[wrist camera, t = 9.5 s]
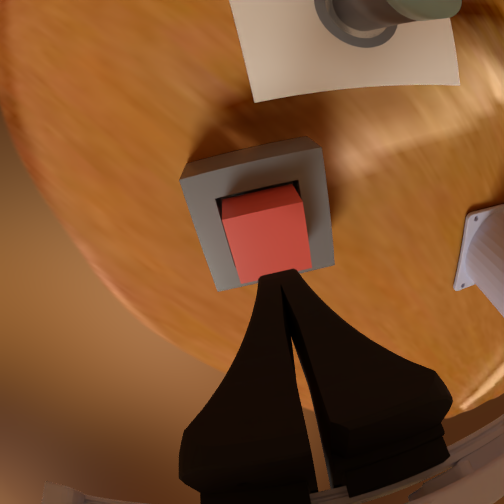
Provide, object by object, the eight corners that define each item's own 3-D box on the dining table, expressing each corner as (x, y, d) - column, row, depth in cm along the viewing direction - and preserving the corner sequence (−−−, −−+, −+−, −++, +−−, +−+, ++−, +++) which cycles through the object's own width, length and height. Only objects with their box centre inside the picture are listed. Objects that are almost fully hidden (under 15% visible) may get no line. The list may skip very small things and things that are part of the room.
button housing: (306, 136, 16) (321, 147, 14) (321, 239, 20) (334, 265, 18) (186, 163, 17) (179, 179, 14) (218, 263, 20) (217, 291, 18)
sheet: (429, -44, 9) (432, -45, 9) (457, 85, 15) (460, 85, 14) (215, -50, 10) (214, -53, 10) (254, 102, 15) (255, 102, 15)
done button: (291, 183, 15) (302, 201, 13) (301, 243, 17) (311, 268, 15) (222, 199, 15) (222, 219, 13) (238, 257, 17) (241, 284, 15)
